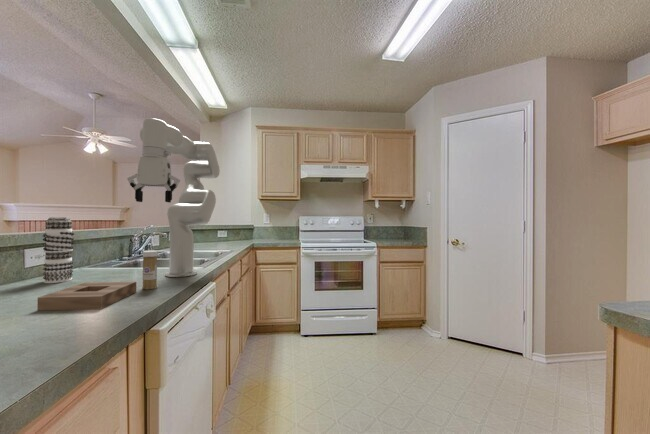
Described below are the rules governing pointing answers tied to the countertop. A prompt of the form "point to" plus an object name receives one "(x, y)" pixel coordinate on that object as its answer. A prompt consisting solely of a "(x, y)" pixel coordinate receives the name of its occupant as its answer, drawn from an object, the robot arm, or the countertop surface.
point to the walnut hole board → (86, 296)
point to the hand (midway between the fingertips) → (153, 201)
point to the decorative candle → (58, 250)
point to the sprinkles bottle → (150, 269)
